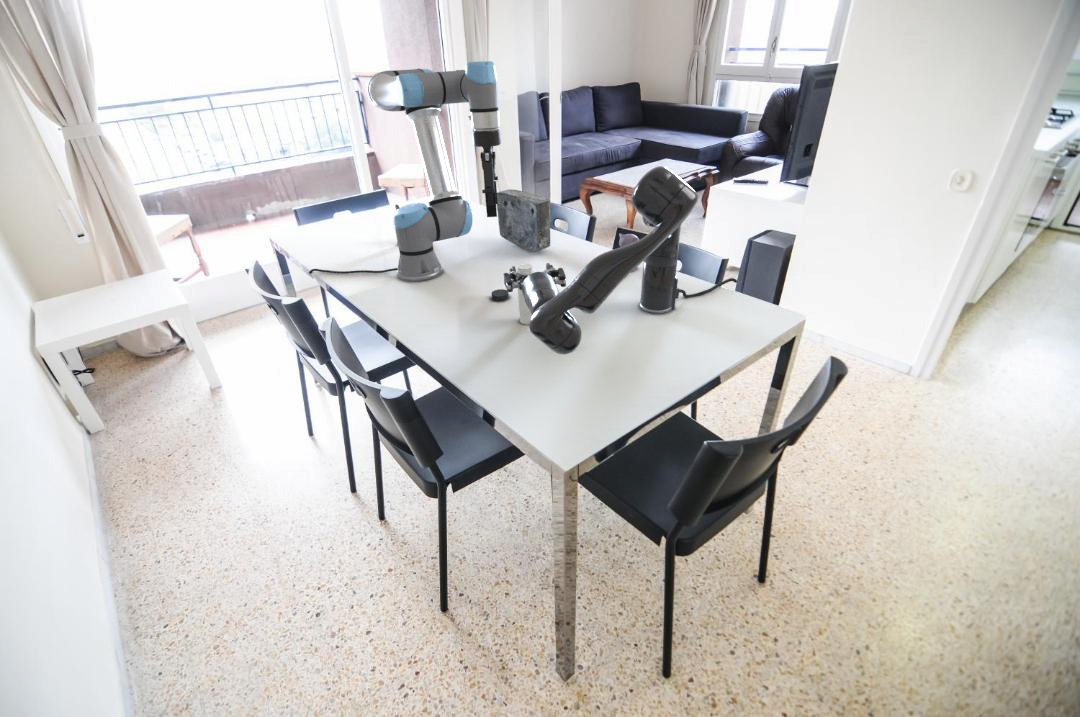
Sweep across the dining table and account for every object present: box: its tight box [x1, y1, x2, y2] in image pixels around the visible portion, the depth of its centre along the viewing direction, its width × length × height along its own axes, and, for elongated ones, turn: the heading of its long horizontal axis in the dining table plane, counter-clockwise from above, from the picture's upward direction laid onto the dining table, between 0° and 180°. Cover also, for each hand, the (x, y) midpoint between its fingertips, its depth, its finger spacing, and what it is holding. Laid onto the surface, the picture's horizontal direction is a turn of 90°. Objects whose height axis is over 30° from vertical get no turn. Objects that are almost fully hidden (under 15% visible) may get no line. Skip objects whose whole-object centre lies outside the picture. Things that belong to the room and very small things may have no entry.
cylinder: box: [516, 263, 534, 326], centre depth 138 cm, size 4×4×17 cm
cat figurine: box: [618, 232, 640, 272], centre depth 171 cm, size 9×8×12 cm
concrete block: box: [496, 188, 551, 252], centre depth 191 cm, size 27×9×20 cm, turn 36°
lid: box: [491, 288, 510, 303], centre depth 156 cm, size 5×5×2 cm
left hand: (492, 210), depth 142 cm, fingers open, 13 cm apart
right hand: (530, 268), depth 122 cm, fingers open, 8 cm apart
